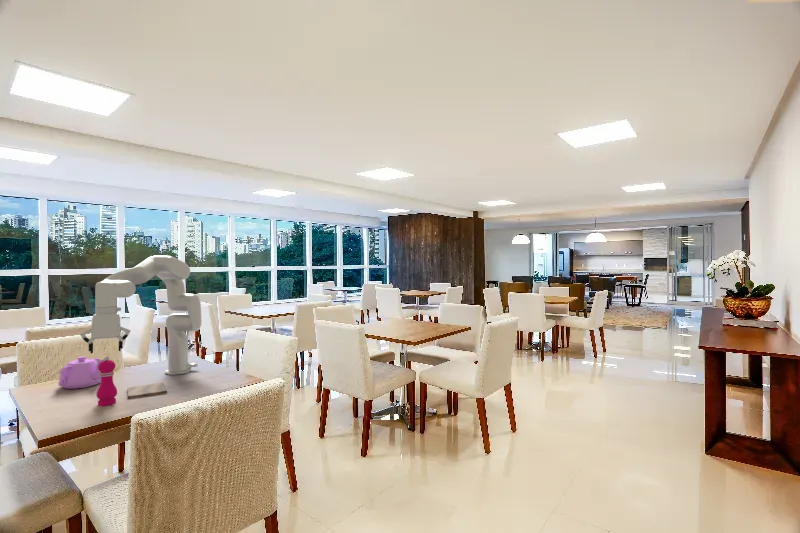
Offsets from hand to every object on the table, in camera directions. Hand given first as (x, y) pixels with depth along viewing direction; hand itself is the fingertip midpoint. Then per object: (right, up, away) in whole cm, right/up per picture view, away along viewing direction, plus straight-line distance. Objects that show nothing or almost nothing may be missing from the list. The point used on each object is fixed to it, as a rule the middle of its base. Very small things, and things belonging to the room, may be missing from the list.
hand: (105, 351), depth 179 cm
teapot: (-27, -22, +26) cm, 44 cm away
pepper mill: (0, -22, +1) cm, 22 cm away
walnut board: (+7, -22, +17) cm, 29 cm away
